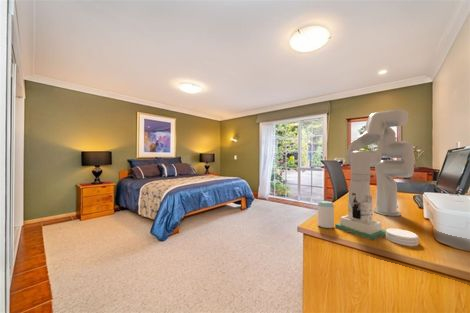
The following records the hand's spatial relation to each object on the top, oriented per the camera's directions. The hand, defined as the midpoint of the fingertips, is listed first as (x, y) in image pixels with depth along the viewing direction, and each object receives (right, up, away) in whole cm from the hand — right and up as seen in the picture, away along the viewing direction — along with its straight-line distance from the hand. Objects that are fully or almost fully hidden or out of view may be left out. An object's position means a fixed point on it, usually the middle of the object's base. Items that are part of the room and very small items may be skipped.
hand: (360, 216), depth 88 cm
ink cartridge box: (0, -5, 0) cm, 5 cm away
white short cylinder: (+10, -7, -10) cm, 16 cm away
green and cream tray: (0, -6, 0) cm, 6 cm away
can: (-13, -6, +5) cm, 16 cm away
